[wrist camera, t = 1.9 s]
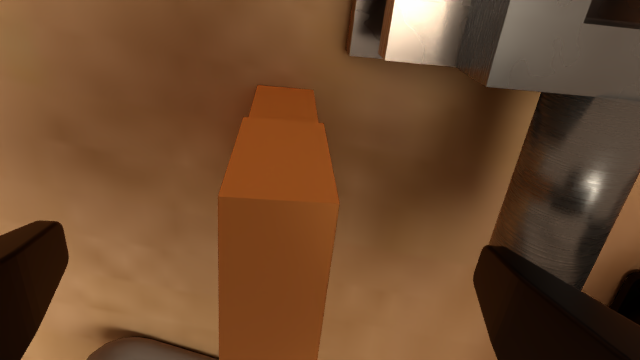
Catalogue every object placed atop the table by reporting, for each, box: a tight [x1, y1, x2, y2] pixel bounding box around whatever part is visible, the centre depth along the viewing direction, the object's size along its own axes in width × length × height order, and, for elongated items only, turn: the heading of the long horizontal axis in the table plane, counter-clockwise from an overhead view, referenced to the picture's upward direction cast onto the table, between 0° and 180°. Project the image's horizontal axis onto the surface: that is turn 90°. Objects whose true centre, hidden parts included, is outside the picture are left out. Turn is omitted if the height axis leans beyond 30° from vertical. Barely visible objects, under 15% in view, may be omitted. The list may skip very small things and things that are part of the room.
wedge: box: [218, 85, 340, 360], centre depth 12 cm, size 4×2×9 cm, turn 174°
